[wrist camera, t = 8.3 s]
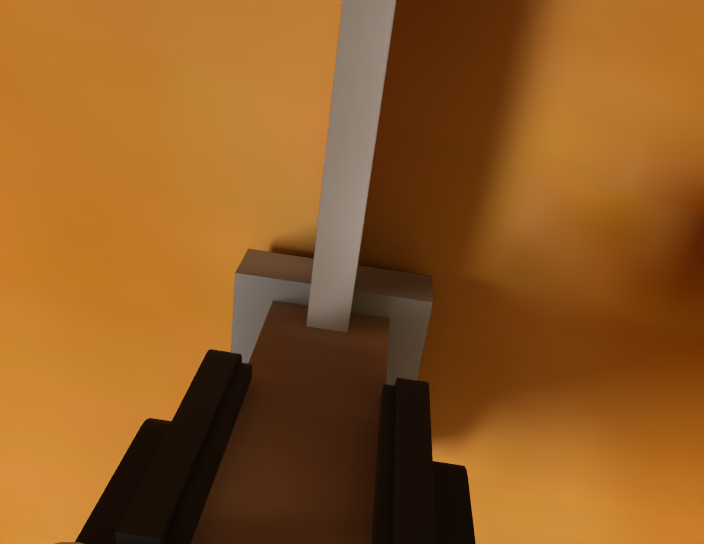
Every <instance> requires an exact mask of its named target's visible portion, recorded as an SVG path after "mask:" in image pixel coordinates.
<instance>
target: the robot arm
mask: <svg viewBox="0 0 704 544" xmlns="http://www.w3.org/2000/svg"><path fill="white" fill-rule="evenodd" d="M251 379H252V364H248V363H242V355H241V354H238V353H231V352H225V351H218V350H211V349H210V350H208V352H207V353H206V355H205V357H204V359H203V361H202V363H201V365H200V367H199V369H198V371H197V373H196V375H195V377H194V379H193V381H192V383H191V385H190V387H189V389H188V391H187V393H186V394H185V396H184V398H183V400H182V402H181V404H180V406H179V408H178V410H177V412H176V414H175V416H174V418H173V420H172V421H165V420H159V419H152V418H149V419H147V420H145V422H144V423H143V424H142V426H141V427H140V429H139V431H138V433H137V434H136V436H135V438H134V440H133V441H132V443H131V445H130V447H129V448H128V450H127V452H126V454H125V455H124V457H123V459H122V461H121V462H120V464H119V466H118V468H117V469H116V471H115V473H114V475H113V476H112V478H111V480H110V482H109V483H108V485H107V487H106V489H105V490H104V492H103V494H102V496H101V497H100V499H99V501H98V503H97V504H96V506H95V508H94V510H93V511H92V513H91V515H90V517H89V518H88V520H87V522H86V524H85V525H84V527H83V529H82V531H81V532H80V534H79V536H78V538H77V539H76V541H75V542H60V543H56V544H191V541H192V538H193V536H194V533H195V530H196V528H197V525H198V522H199V519H200V517H201V514H202V511H203V509H204V506H205V503H206V501H207V498H208V495H209V492H210V490H211V487H212V484H213V482H214V479H215V476H216V474H217V471H218V468H219V465H220V463H221V460H222V457H223V455H224V452H225V449H226V447H227V444H228V441H229V438H230V436H231V433H232V430H233V428H234V425H235V422H236V420H237V417H238V414H239V411H240V409H241V406H242V403H243V401H244V398H245V395H246V392H247V390H248V387H249V384H250V382H251ZM371 544H475V536H474V527H473V518H472V510H471V501H470V492H469V484H468V476H467V470H466V468H465V466H461V465H454V464H448V463H441V462H435V461H432V440H431V420H430V399H429V384H428V382H424V381H417V380H411V379H404V378H398V377H397V378H396V382H395V386H394V385H387V384H383V388H382V393H381V400H380V416H379V431H378V447H377V463H376V479H375V495H374V510H373V526H372V542H371Z"/></svg>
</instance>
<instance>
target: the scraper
mask: <svg viewBox="0 0 704 544" xmlns="http://www.w3.org/2000/svg"><path fill="white" fill-rule="evenodd" d="M396 2H397V0H343V4H342V13H341V22H340V31H339V39H338V48H337V57H336V66H335V75H334V84H333V93H332V102H331V111H330V120H329V128H328V137H327V146H326V155H325V164H324V173H323V182H322V191H321V200H320V208H319V217H318V226H317V235H316V244H315V253H314V259H313V258H306V257H300V256H293V255H286V254H280V253H273V252H266V251H260V250H253V249H248V251H247V252H246V254H245V256H244V258H243V260H242V262H241V263H240V265H239V267H238V269H237V271H236V272H235V287H234V306H233V324H232V343H231V353H238V354H241V355H242V363H248V364H252V379H251V382H250V384H249V387H248V390H247V392H246V395H245V398H244V401H243V403H242V406H241V409H240V411H239V414H238V417H237V420H236V422H235V425H234V428H233V430H232V433H231V436H230V438H229V441H228V444H227V447H226V449H225V452H224V455H223V457H222V460H221V463H220V465H219V468H218V471H217V474H216V476H215V479H214V482H213V484H212V487H211V490H210V492H209V495H208V498H207V501H206V503H205V506H204V509H203V511H202V514H201V517H200V519H199V522H198V525H197V528H196V530H195V533H194V536H193V538H192V541H191V544H371V542H372V526H373V510H374V495H375V479H376V463H377V447H378V431H379V416H380V400H381V393H382V388H383V384H387V385H394V386H395V382H396V378H397V377H398V378H404V379H411V380H417V378H418V373H419V368H420V364H421V359H422V354H423V349H424V344H425V340H426V335H427V330H428V325H429V320H430V316H431V311H432V306H433V292H432V279H431V276H427V275H420V274H414V273H407V272H400V271H394V270H387V269H380V268H374V267H367V266H360V265H358V262H359V255H360V248H361V241H362V234H363V228H364V221H365V214H366V207H367V200H368V193H369V187H370V180H371V173H372V166H373V159H374V152H375V146H376V139H377V132H378V125H379V118H380V111H381V105H382V98H383V91H384V84H385V77H386V70H387V63H388V57H389V50H390V43H391V36H392V29H393V22H394V16H395V9H396Z"/></svg>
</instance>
